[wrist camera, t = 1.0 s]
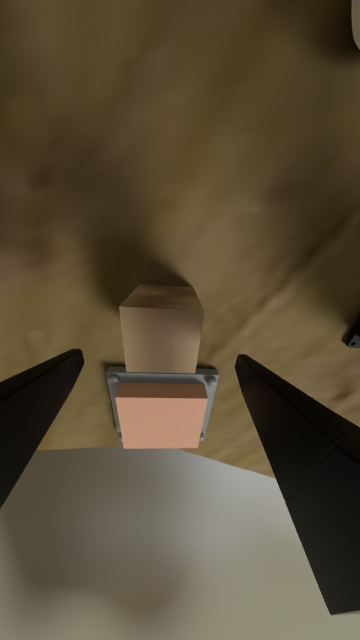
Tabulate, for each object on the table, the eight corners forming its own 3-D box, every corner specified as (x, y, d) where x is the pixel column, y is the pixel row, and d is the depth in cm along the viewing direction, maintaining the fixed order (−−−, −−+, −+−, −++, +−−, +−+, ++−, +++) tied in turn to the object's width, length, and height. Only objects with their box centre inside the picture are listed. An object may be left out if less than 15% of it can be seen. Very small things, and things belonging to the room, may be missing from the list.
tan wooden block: (193, 287, 15) (204, 310, 9) (188, 332, 17) (195, 373, 11) (139, 283, 14) (119, 306, 9) (141, 330, 16) (126, 372, 11)
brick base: (216, 368, 19) (223, 389, 16) (203, 430, 25) (206, 453, 22) (109, 366, 18) (98, 387, 16) (120, 430, 24) (113, 454, 21)
